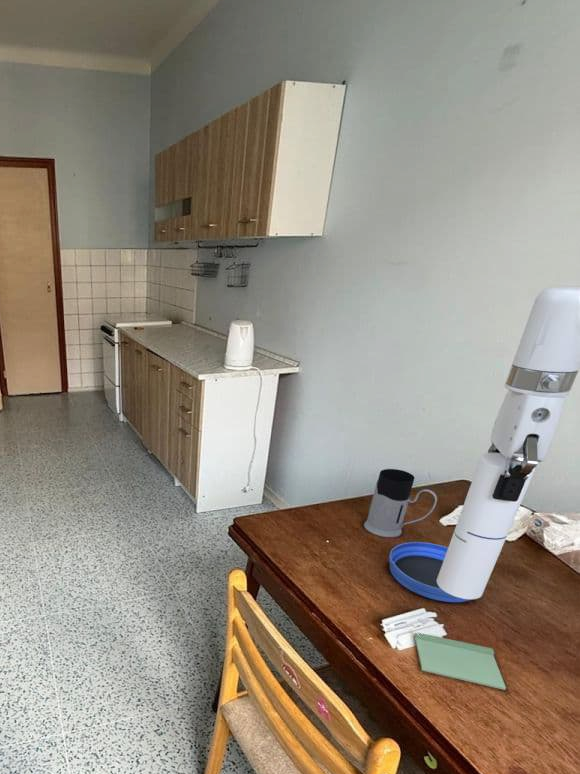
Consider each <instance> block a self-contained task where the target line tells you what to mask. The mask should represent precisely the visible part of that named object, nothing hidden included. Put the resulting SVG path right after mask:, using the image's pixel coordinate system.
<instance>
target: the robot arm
mask: <svg viewBox="0 0 580 774" xmlns="http://www.w3.org/2000/svg"><path fill="white" fill-rule="evenodd" d="M511 363H512V364H511V366H510V370H509V371H508V374H507V378H506V380H505V383H504V388H505V389H506V390H507V392H506V394H505V396H504V398H503V400H502V403H501V406H500V408H499V411H498V414H497V415H496V417H495V420H494V423H493V427H492V428H491V429H492V430H491V434H490V441H491V445H490V447H489V448H488V450H487V453H501V454H502V455H503V456H504V457H506V458H507V459H506V464H505V470H504V475H500V477H499V480H498V482H497V485H496V488H495V490H494V493H493V495H492V496H493V498H494V499H497V500H505V501H513V502H515V501H517V500H518V498H519V496H520V493H521V491H522V489H523V486H524V484H525V481H526V480H527V479H528V477H529V474H530V473H531V472H532V470H533V469H534V468H535V467H536V468H537V466H538V463H542V462H543V461H545V460H546V458H547V456H548V453H549V451H550V448H551V445H552V442H553V440H554V436H555V434H556V431H557V428H558V425H559V422H560V418H561V416H562V412H563V407H564V405H565V396H568V395H569V394H570V392H571V389H572V387H573V385H574V383H575V381H576V377H577V375H578V374H579V370H580V286H579V285H578V286H577V285H560V286H558V285H557V286H551V287H547V288H544V289H543V290H542V291H540V292H539V293H538V294H537V296H536V297H535V299H534V302H533V305H532V307H531V310H530V313H529V315H528V319H527V321H526V324H525V327H524V330H523V333H522V335H521V338H520V341H519V343H518V346H517V350H516V352H515V355H514V359H513V361H512V362H511ZM516 454H517V455H522V456H520V457H514V456H513V455H516ZM513 461H514V462H521V464H520V465H516V466H515V467H514V468H512V466H513Z"/></svg>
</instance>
